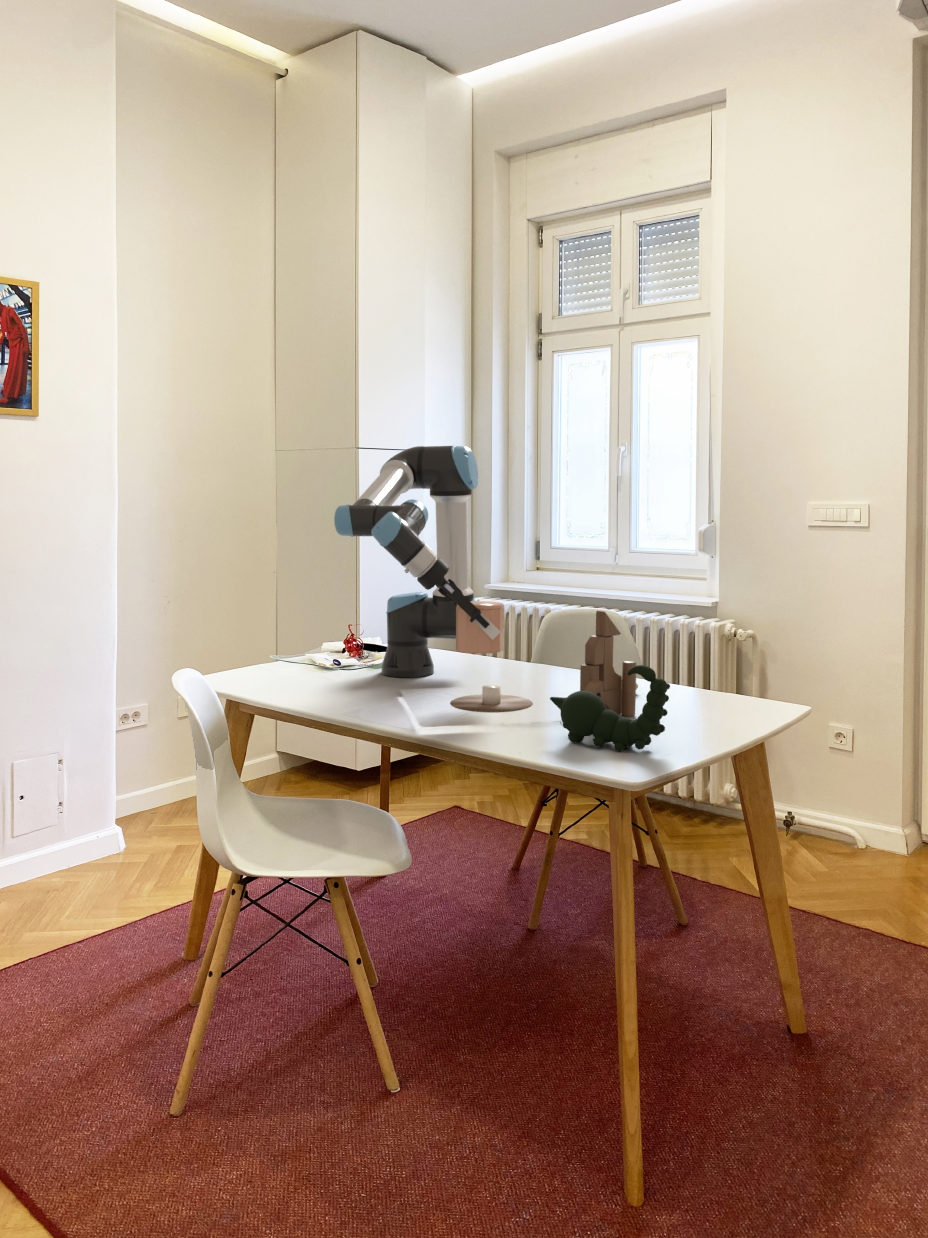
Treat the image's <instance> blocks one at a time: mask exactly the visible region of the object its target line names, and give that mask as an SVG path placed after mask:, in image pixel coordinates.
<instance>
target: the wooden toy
mask: <svg viewBox="0 0 928 1238" xmlns="http://www.w3.org/2000/svg"><path fill="white" fill-rule="evenodd" d="M621 634H622V633H621V631H620V630H619V629H618V628H617V626H616V624H614V623H613V621H612V619H611V618H610V617H609V615H608V614H607V613H606V611H605V610H604V611H602V610H596V612H595V635H590V636H589V638H588V639H587V641H586V643H585V645H584V664H581V665H580V667H579V669H580V671H579V672H580V673H579V674H580V677H579V682H580V683H579V691H589V692H592V693H594V694H596V695H597V696H599V697H600V698H601V700H602V701H603V702H604V704H605V707H606V709H609V710H612V711H614V712H616V713H617V714H618V715H619V716H620V715H621V716H622V717H626V718H631V717H635V716H636V699H637V698H636V696H637V695H636V692H637V689H636V684H637V674H632V675H630V676H629V675H628V671H629V670H630V669H631V668H632V667H634V666H637V662H636V661H634V660H624V661H622V663H621V664H622V665H621V666H622V670H621V671H622V672H621V675H620V674H618V673H617V672H616V671H615V668H614V636H620V635H621ZM621 687H622V688H621Z"/></svg>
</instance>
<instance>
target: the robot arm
mask: <svg viewBox="0 0 928 1238" xmlns="http://www.w3.org/2000/svg"><path fill="white" fill-rule="evenodd" d="M478 480H479V469H478V465H477V460H476V456H475V454H474V452H473V450H472V449H471V448H469V447H468V446H462V445H454V444H453V445H435V446H431V445H430V446H428V445H427V446H423V445H419V446H413V447H410V448H407V449H404V450H402V451H400V452H398V453H396V454H395V455H393V456H392V457H390V458H389V459H388V460H387V461H386V462H385V463H384V464H383V465H382V466H381V468H380V471H379V475H378V476H377V477H376V479H374V481H373V482H372V483H371V484H370V485H369V486H368V487H367V489H366V490H365V491H364V492H363V493H362V494H361V495H360V496H359V497H358V499H357V500H355V502H354V503H353V504H345V505H344V504H343V505H339V506H337V508H336V509H335V512H334V516H333V517H334V519H333V520H334V528H335V531H336V532H337V534H338V535H340V536H343V537H344V536H345V537H373V538H374V539H375V540H376V542H377V543H378V544H379V546H381V547H383V548H384V550H386V552H388V553H389V554H390V555H391V556H392V557H393V558H394V559H395V560H396V561H397V562H398V563H399V564H400V565H401V566H402V567H403V568H405V569H404V572H405V574H408V573H409V574H410V575H411V576H412V577H413V578H416V579H417V582H418V583H419V584H420V585H421V586H422V587H423V588H424V589H425V590H428V591H429V590H432V589H433V588H434V587H435V586H436V588H435V589H434V590H433V592H432V597H429V594H428V593H427V592H426V591H417V592H415V591H414V592H410V593H402V594H395V595H392V596H391V597H389V598H388V600H387V602H386V603H387V605H386V612H385V613H386V630H387V631H386V636H387V637H386V638H387V639H386V641H387V645H386V646H387V647H386V650H385V654H384V657H383V660H382V662H381V674H382V675H383V676H387V677H392V678H419V677H421V678H422V677H427V676H431V675H432V674H434V673H435V666H434V662H433V659H432V656H431V652H430V649H429V646H428V639H429V638H430V639H450V640H451V639H452V640H456V607H457V605H458V606H459V607H460V608H462V609H463V610H464V611H465V612H466V613H467V614H468V615H469V616H470V617H471V619H470V622H471V623H472V622H473V621H474V622H475V623H476V624H477V625H478V626H479V627H480V628H481V629H482V630H483V631H484V632H485V633H486V634H487V635H488V636H489V637H490V638H491V639H492V640H493V639H494V638H495V637H496V636H497V635H498V634H499V633H500V632H501V631H500V630H499V629H498V628H497V627H496V626H495V625H494V624H493V623H492V622H491V621H490V620H489V619H488V618H487V617H486V616H485V615H484V614H483V613H482V612H481V611H480V610H479V609H477V608H476V607H475V606H474V605H473V604H472V603H471V602H470V601H480V599H478V598H477V597H474V596H475V595H474V590H472V589H473V588H471V587H470V586H469V577H468V576H469V574H468V571H469V569H468V521H467V520H468V516H467V511H468V510H467V509H468V508H467V501H468V500H469V499H470V498H471V497H472V493H473V490H474V489H476V488H477V487H478V482H479V481H478ZM414 489H415V490H416V489H420V490H421V489H422V490H425V489H427V490H429V496H430V497H431V499H432V500H433V501H434V502H435V527H436V531H435V532H436V533H435V535H436V552H435V551H434V550H433V549H432V548H431V547H430V546H429V545H428V544H427V543H426V542H425V541H424V540H422V538H420V536H419V535H420V534H421V533H422V531H423V530H424V529H425V527H426V524H427V521H428V520H429V511H428V508H427V507H426V505H425V504H424V503H423V502H421V501H419V500H417V499H408V500H405V501H404V502H403V503H401V504H397V505H395V504H394V503H395V502H396V500H397V499H398V498H399V497H400V496H401V494H404V493H407V492H408V491H409V490H414ZM393 504H394V505H393ZM474 610H475V611H474ZM473 611H474V612H473ZM472 612H473V613H472ZM471 613H472V614H471Z"/></svg>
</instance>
